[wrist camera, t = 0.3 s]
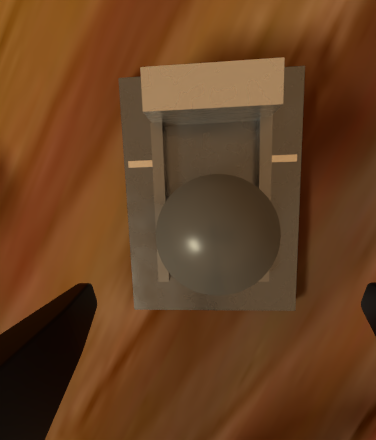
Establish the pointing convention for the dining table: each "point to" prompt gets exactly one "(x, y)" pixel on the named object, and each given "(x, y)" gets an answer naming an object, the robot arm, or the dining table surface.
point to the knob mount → (212, 164)
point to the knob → (218, 234)
